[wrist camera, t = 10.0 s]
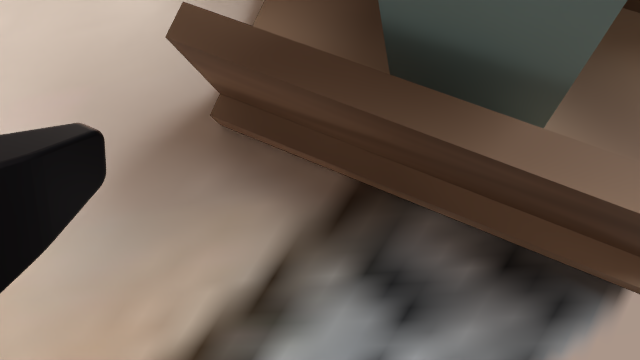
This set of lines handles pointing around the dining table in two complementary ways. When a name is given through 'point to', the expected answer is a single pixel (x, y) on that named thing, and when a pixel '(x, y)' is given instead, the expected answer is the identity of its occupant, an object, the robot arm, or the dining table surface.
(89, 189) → the robot arm
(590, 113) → the rack
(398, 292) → the dining table surface
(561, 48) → the pale teal box
